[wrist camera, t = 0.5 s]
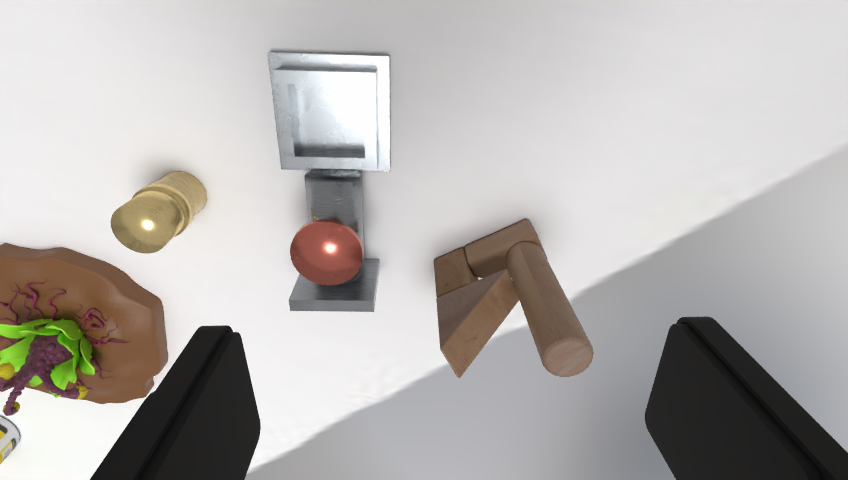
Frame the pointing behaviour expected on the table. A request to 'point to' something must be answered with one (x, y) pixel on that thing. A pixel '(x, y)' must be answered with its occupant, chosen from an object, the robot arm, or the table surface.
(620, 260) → the table surface
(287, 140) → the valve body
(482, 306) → the wooden block
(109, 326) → the plant
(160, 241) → the cylinder
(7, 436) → the supplement bottle
